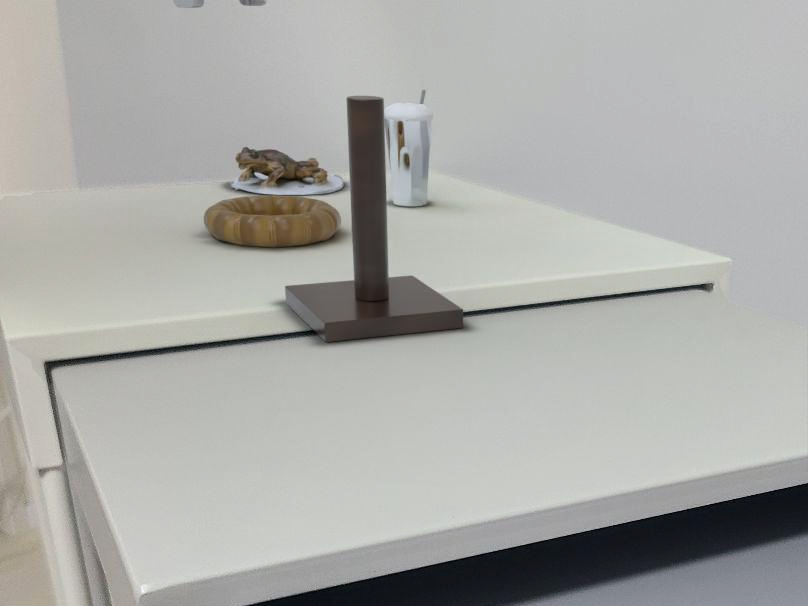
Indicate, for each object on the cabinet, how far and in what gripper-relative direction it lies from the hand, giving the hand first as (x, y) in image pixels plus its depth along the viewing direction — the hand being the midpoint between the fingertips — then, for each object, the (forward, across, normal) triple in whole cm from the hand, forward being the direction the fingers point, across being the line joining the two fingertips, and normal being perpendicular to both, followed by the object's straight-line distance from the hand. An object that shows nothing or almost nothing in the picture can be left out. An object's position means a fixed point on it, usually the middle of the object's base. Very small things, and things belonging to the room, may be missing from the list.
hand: (222, 6), depth 86 cm
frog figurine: (+17, -16, -5) cm, 24 cm away
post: (+17, +22, +23) cm, 36 cm away
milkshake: (+17, -14, +10) cm, 24 cm away
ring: (+16, +4, +6) cm, 17 cm away
